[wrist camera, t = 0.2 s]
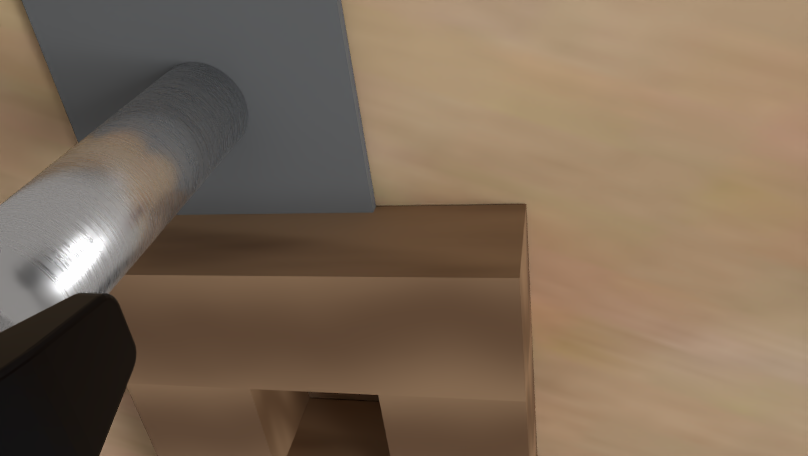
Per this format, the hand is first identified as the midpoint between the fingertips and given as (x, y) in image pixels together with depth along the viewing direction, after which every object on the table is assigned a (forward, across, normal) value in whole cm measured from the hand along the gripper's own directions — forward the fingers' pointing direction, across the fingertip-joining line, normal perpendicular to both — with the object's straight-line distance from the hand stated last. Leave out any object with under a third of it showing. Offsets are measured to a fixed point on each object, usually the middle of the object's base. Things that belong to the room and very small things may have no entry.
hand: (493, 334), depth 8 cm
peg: (+14, +10, +3) cm, 18 cm away
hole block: (+14, +7, +14) cm, 21 cm away
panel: (+14, +10, +3) cm, 18 cm away
